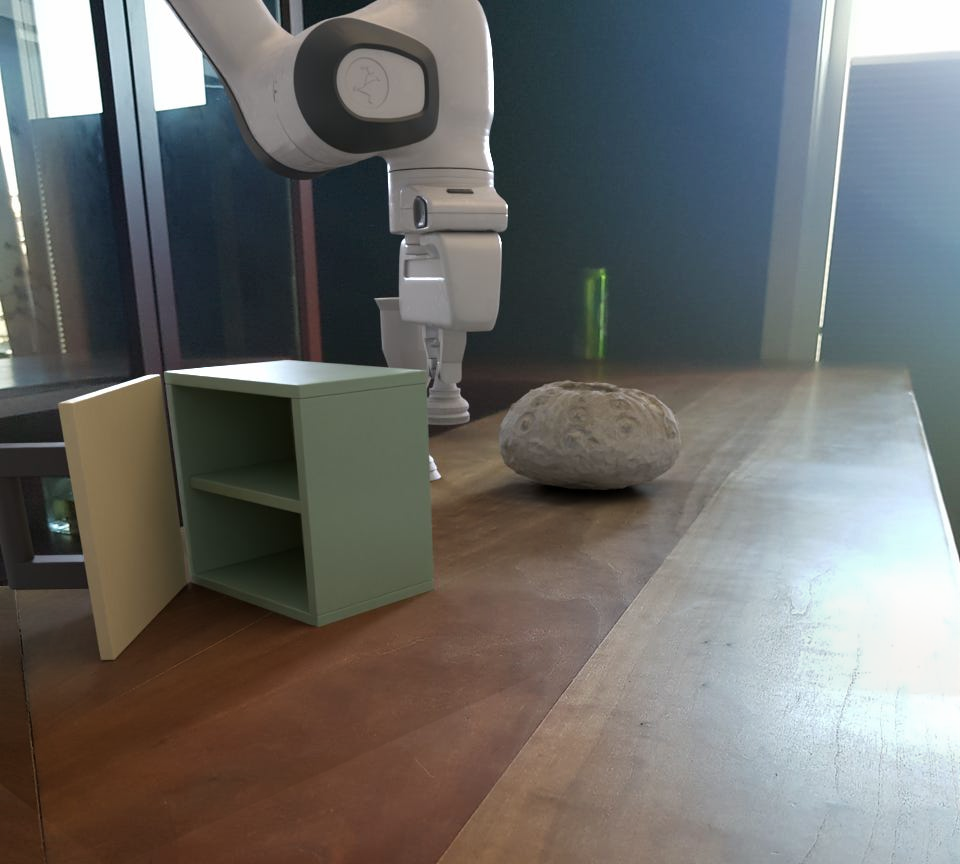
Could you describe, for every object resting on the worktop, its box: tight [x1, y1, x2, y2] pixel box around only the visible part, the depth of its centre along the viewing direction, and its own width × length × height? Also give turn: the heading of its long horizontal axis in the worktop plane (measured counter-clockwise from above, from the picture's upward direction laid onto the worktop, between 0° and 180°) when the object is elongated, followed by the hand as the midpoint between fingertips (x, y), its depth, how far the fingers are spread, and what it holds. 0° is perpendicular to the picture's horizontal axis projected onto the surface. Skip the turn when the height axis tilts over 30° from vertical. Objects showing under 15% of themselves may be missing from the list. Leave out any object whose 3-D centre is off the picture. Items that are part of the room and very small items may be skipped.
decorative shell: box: [498, 379, 682, 491], centre depth 96 cm, size 18×18×10 cm
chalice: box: [374, 296, 442, 482], centre depth 101 cm, size 7×7×18 cm
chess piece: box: [427, 328, 470, 426], centre depth 87 cm, size 4×4×10 cm
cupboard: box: [163, 359, 435, 628], centre depth 66 cm, size 10×15×15 cm
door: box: [0, 374, 188, 661], centre depth 60 cm, size 6×15×14 cm, turn 0°
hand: (444, 380), depth 87 cm, fingers closed on chess piece, 2 cm apart
